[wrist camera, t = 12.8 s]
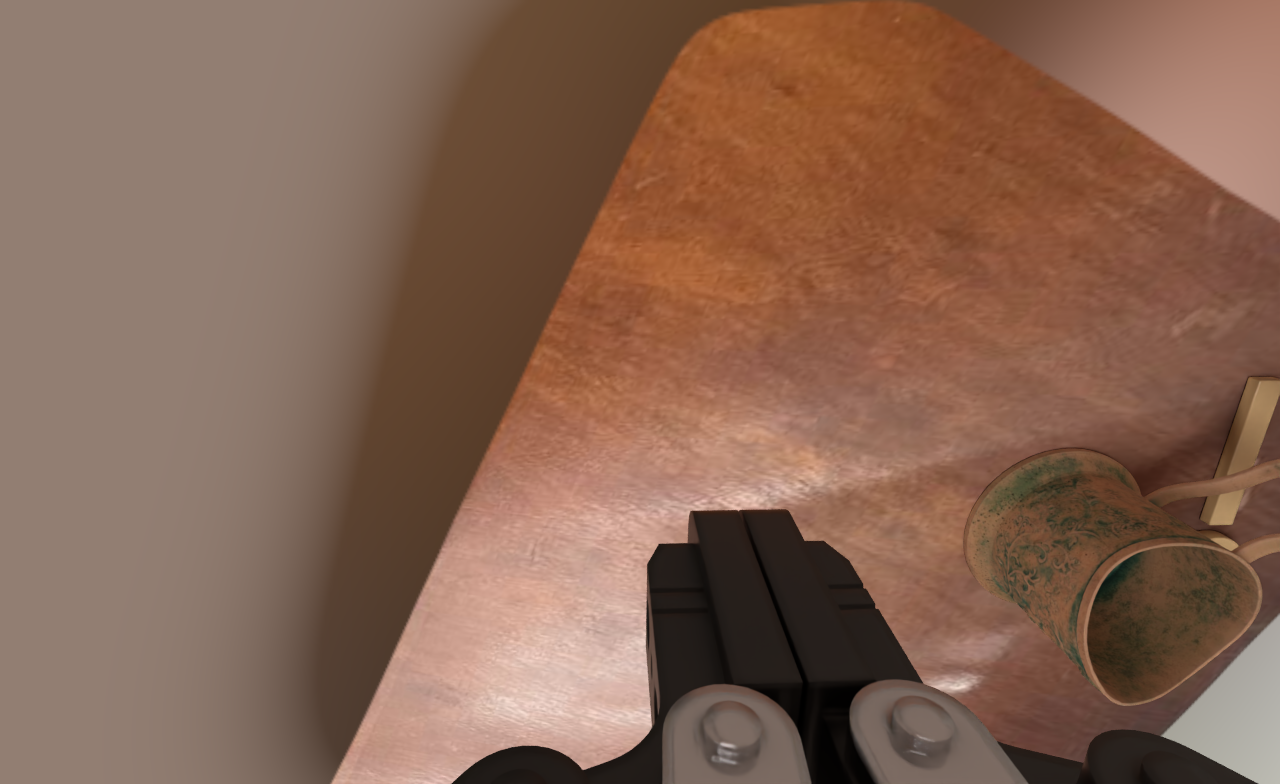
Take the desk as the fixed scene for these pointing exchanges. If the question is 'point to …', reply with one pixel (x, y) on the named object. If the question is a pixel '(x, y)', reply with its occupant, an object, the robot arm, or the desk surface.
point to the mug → (1116, 568)
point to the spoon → (1241, 452)
